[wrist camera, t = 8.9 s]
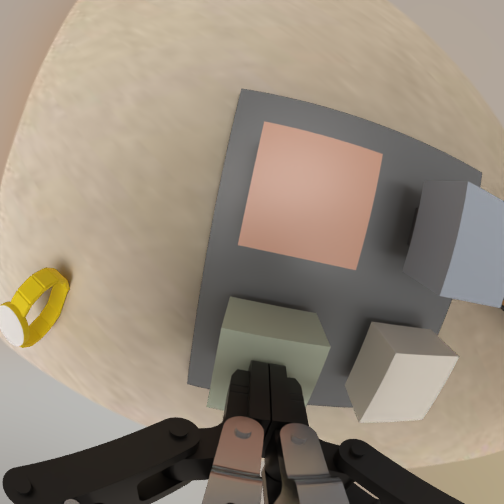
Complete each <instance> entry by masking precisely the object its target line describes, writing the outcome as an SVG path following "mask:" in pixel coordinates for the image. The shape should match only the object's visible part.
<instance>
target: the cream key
mask: <svg viewBox="0 0 504 504" xmlns="http://www.w3.org/2000/svg"><path fill="white" fill-rule="evenodd" d="M458 358H459V356H458V355H457V354H456V353H455V352H454V351H453V350H452V349H451V348H450V347H449V346H448V345H447V344H446V343H445V342H444V341H443V340H442V339H440V338H439V337H438V336H437V335H436V334H435V333H434V332H433V331H432V330H431V329H423V328H415V327H407V326H400V325H392V324H385V323H378V322H371V324H370V327H369V330H368V332H367V335H366V337H365V340H364V342H363V345H362V347H361V350H360V352H359V354H358V357H357V359H356V361H355V364H354V366H353V368H352V370H351V372H350V375H349V377H348V379H347V381H346V383H345V388H346V390H347V393H348V395H349V398H350V400H351V403H352V406H353V408H354V411H355V414H356V416H357V419H358V422H359V423H375V422H399V421H412V420H422V419H423V418H424V416H425V415H426V413H427V412H428V410H429V409H430V407H431V406H432V404H433V403H434V401H435V399H436V398H437V396H438V394H439V393H440V391H441V389H442V388H443V386H444V384H445V382H446V381H447V379H448V377H449V375H450V373H451V372H452V370H453V368H454V366H455V364H456V362H457V360H458Z"/></svg>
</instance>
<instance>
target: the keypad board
mask: <svg viewBox="0 0 504 504" xmlns="http://www.w3.org/2000/svg"><path fill="white" fill-rule="evenodd" d="M264 121H265V122H270V123H275V124H279V125H284V126H288V127H292V128H297V129H301V130H305V131H309V132H312V133H316V134H320V135H324V136H327V137H331V138H334V139H338V140H341V141H344V142H348V143H351V144H354V145H357V146H360V147H363V148H366V149H369V150H372V151H375V152H378V153H381V154H383V156H382V162H381V167H380V173H379V178H378V183H377V188H376V192H375V197H374V202H373V206H372V211H371V215H370V219H369V223H368V227H367V231H366V235H365V239H364V243H363V247H362V250H361V254H360V257H359V261H358V265H357V268H356V270H352V269H348V268H343V267H338V266H334V265H329V264H324V263H320V262H315V261H310V260H306V259H301V258H296V257H292V256H287V255H282V254H278V253H273V252H268V251H264V250H259V249H254V248H250V247H245V246H240V245H238V242H239V237H240V232H241V227H242V222H243V217H244V213H245V208H246V203H247V198H248V194H249V189H250V184H251V180H252V175H253V170H254V166H255V161H256V156H257V152H258V147H259V143H260V138H261V134H262V129H263V125H264ZM481 178H482V172H480V171H478V170H476V169H475V168H473V167H471V166H469V165H467V164H466V163H464V162H462V161H460V160H458V159H456V158H454V157H452V156H450V155H448V154H446V153H444V152H442V151H440V150H438V149H436V148H434V147H432V146H430V145H428V144H425V143H423V142H421V141H419V140H417V139H414V138H412V137H410V136H407V135H405V134H402V133H400V132H397V131H395V130H392V129H390V128H387V127H385V126H382V125H379V124H377V123H374V122H371V121H368V120H365V119H362V118H359V117H356V116H353V115H350V114H347V113H344V112H341V111H337V110H334V109H331V108H327V107H324V106H320V105H316V104H312V103H309V102H305V101H301V100H296V99H292V98H288V97H283V96H279V95H274V94H269V93H264V92H258V91H253V90H247V89H241V93H240V97H239V101H238V105H237V109H236V113H235V118H234V122H233V126H232V130H231V135H230V139H229V144H228V148H227V153H226V157H225V162H224V166H223V171H222V176H221V181H220V186H219V190H218V195H217V200H216V205H215V211H214V216H213V221H212V226H211V232H210V237H209V242H208V248H207V254H206V259H205V265H204V271H203V277H202V283H201V289H200V295H199V302H198V308H197V315H196V322H195V328H194V335H193V343H192V350H191V357H190V365H189V373H188V381H187V384H189V385H193V386H198V387H202V388H206V389H210V386H211V380H212V375H213V369H214V364H215V359H216V353H217V348H218V343H219V337H220V332H221V327H222V324H223V320H224V316H225V313H226V309H227V306H228V302H229V298H230V296H231V297H236V298H240V299H245V300H250V301H255V302H260V303H265V304H270V305H275V306H280V307H285V308H291V309H296V310H301V311H307V312H313V313H317V316H318V318H319V320H320V323H321V325H322V327H323V330H324V332H325V334H326V337H327V339H328V342H329V344H330V346H331V348H330V350H329V353H328V356H327V358H326V361H325V363H324V366H323V368H322V371H321V373H320V375H319V378H318V380H317V383H316V385H315V387H314V390H313V392H312V394H311V397H310V399H309V401H308V403H307V405H318V406H332V407H353V406H352V403H351V400H350V398H349V395H348V393H347V390H346V388H345V383H346V381H347V379H348V377H349V375H350V372H351V370H352V368H353V366H354V364H355V361H356V359H357V357H358V354H359V352H360V350H361V347H362V345H363V342H364V340H365V337H366V335H367V332H368V330H369V327H370V324H371V322H378V323H385V324H392V325H400V326H407V327H415V328H423V329H431V330H432V331H433V332H434V333H435V334H436V335H438V333H439V331H440V329H441V326H442V324H443V321H444V319H445V316H446V314H447V311H448V309H449V306H450V303H451V301H452V298H447V297H442V296H439V295H437V294H436V293H434V292H433V291H431V290H430V289H428V288H427V287H425V286H424V285H422V284H421V283H419V282H418V281H416V280H415V279H413V278H412V277H410V276H409V275H407V274H405V273H404V272H402V271H403V267H404V264H405V261H406V257H407V254H408V250H409V246H410V243H411V239H412V235H413V231H414V227H415V223H416V219H417V214H418V210H419V205H420V200H421V195H422V190H423V185H424V181H468V182H470V183H472V184H474V185H476V186H478V187H480V185H481Z"/></svg>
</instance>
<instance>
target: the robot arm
mask: <svg viewBox="0 0 504 504" xmlns="http://www.w3.org/2000/svg"><path fill="white" fill-rule="evenodd" d="M261 458H265V465H264V467H263V469H262V472H261V476H262V477H260V467H261ZM206 479H209V480H208V484H207V487H206V491H205V494H204V498H203V501H202V504H260V502H261V492H262V486H263V496H264V504H464V503H462V502H460V501H459V500H457V499H455V498H453V497H451V496H449V495H448V494H446V493H444V492H442V491H441V490H439V489H437V488H435V487H433V486H432V485H430V484H429V483H427V482H425V481H423V480H422V479H420V478H419V477H417V476H415V475H414V474H412V473H411V472H409V471H407V470H406V469H404V468H403V467H401V466H400V465H398V464H397V463H395V462H394V461H392V460H391V459H389V458H388V457H386V456H385V455H383V454H382V453H380V452H379V451H377V450H376V449H374V448H373V447H372V446H370V445H369V444H367V443H366V442H364V441H362V440H358V439H348V440H345V441H344V442H342V443H341V445H340V446H339V445H335V444H332V443H328V442H325V441H322V440H320V439H318V436H317V434H316V432H315V431H314V430H313V429H312V428H310V427H309V424H308V419H307V414H306V408H305V403H304V398H303V392H302V387H301V385H300V384H299V382H298V381H297V380H296V378H290V377H287V371H286V366H284V365H278V364H271V363H269V364H268V363H265V362H259V361H253V360H251V362H250V366H249V369H248V371H246V370H240V369H237V370H236V371H235V372H234V373H233V374H232V375H231V380H230V384H229V388H228V393H227V397H226V402H225V409H224V415H223V421H222V423H221V424H219V425H218V426H215V427H212V428H198V427H197V426H196V425H195V424H194V423H192V422H191V421H189V420H186V419H183V418H176V417H175V418H168V419H165V420H163V421H161V422H158V423H156V424H154V425H151V426H149V427H146V428H144V429H141V430H139V431H136V432H134V433H131V434H129V435H126V436H123V437H121V438H118V439H115V440H113V441H110V442H107V443H104V444H101V445H98V446H95V447H92V448H89V449H86V450H83V451H80V452H76V453H73V454H69V455H66V456H62V457H59V458H55V459H51V460H47V461H43V462H39V463H35V464H30V465H25V466H20V467H16V468H12V469H10V470H9V471H7V472H6V473H5V475H4V478H3V488H4V491H5V493H6V495H7V496H8V497H9V499H10V500H11V501H12V502H13V503H14V504H151V503H153V502H155V501H157V500H159V499H161V498H163V497H165V496H166V495H168V494H170V493H172V492H174V491H176V490H177V489H180V488H181V487H183V486H185V485H187V484H188V483H190V482H191V481H192V480H206ZM354 482H357V483H358V484H360V485H361V486H362V487H364V488H365V489H366V490H368V491H369V492H371V493H372V494H374V495H375V496H376V497H378V498H379V499H375V498H374V497H372V496H371V495H369V494H368V493H367V492H365V491H364V490H362V489H361V488H360V487H358V486H357V485H356V484H354Z"/></svg>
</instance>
